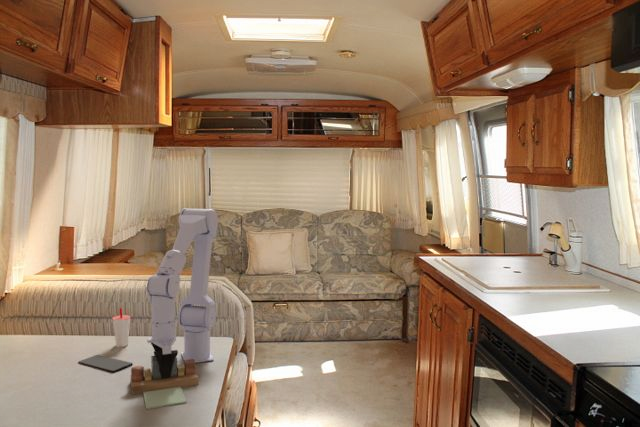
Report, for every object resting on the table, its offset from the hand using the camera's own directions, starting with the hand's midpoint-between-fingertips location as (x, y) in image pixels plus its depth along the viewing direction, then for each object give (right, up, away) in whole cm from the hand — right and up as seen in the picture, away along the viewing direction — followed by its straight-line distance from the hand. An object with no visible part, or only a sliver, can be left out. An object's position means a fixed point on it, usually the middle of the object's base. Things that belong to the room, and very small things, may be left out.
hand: (164, 372), depth 132 cm
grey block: (0, -1, 0) cm, 1 cm away
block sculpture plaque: (0, -3, 0) cm, 3 cm away
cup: (-22, -1, +29) cm, 36 cm away
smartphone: (-21, -2, +13) cm, 25 cm away
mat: (+3, -4, -8) cm, 10 cm away
